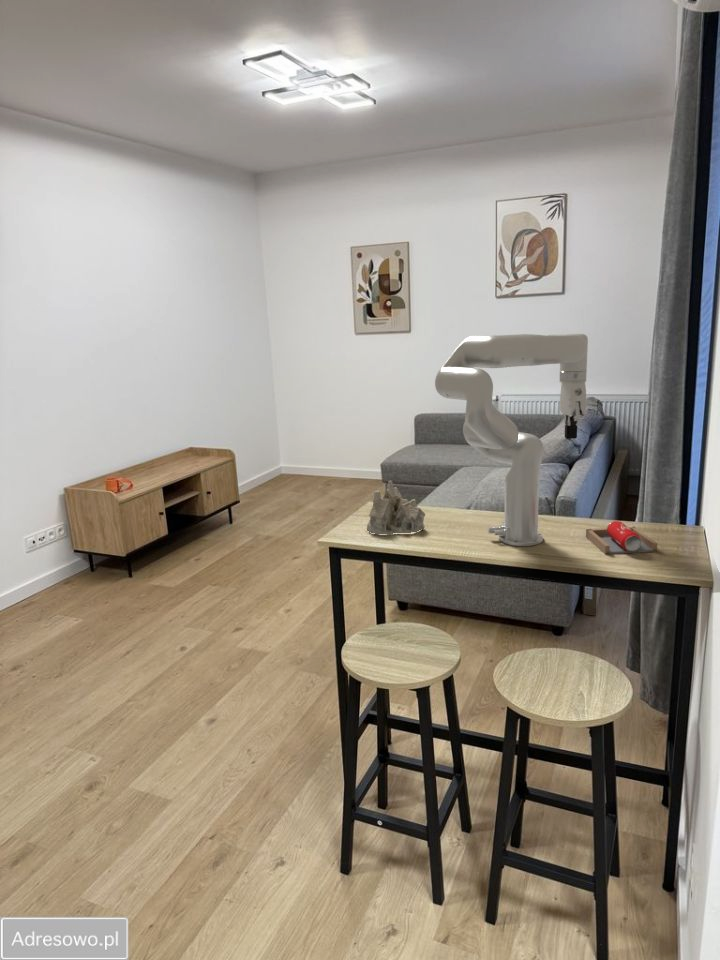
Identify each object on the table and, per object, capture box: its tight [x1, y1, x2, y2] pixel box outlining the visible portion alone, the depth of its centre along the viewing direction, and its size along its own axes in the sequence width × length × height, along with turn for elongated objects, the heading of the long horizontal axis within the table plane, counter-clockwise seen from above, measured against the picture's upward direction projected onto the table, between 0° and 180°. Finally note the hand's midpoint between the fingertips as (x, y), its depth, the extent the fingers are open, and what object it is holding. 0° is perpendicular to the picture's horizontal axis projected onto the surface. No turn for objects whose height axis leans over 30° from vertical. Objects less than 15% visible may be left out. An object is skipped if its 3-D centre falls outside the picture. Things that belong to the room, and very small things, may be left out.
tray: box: [585, 526, 658, 555], centre depth 182 cm, size 14×14×2 cm
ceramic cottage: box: [366, 480, 426, 534], centre depth 202 cm, size 16×16×15 cm
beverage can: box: [606, 520, 641, 551], centre depth 180 cm, size 5×5×12 cm
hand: (570, 437), depth 195 cm, fingers closed
